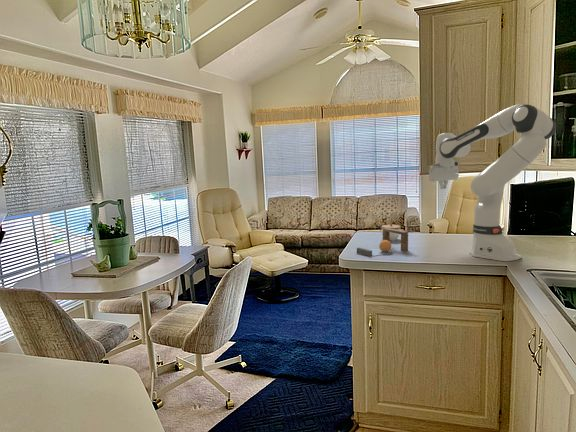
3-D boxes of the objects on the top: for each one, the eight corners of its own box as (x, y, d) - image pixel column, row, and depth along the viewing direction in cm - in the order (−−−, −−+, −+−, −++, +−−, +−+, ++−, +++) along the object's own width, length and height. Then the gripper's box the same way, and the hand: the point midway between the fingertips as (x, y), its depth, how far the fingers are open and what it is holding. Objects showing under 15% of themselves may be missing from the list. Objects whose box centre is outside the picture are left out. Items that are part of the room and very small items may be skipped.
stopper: (372, 255, 213) (372, 250, 212) (368, 256, 212) (368, 251, 211) (359, 252, 220) (359, 247, 220) (356, 252, 219) (356, 247, 219)
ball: (395, 246, 219) (390, 238, 216) (388, 255, 217) (383, 247, 215) (387, 244, 224) (382, 236, 221) (380, 253, 222) (374, 245, 220)
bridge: (386, 245, 234) (386, 227, 233) (407, 250, 221) (408, 231, 220) (382, 246, 232) (382, 228, 231) (403, 251, 220) (403, 232, 218)
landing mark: (392, 252, 218) (392, 252, 218) (374, 256, 212) (374, 255, 211) (375, 248, 228) (375, 248, 228) (357, 251, 222) (357, 251, 222)
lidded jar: (393, 242, 242) (393, 225, 241) (377, 239, 250) (377, 223, 249) (404, 239, 249) (404, 223, 248) (388, 236, 257) (389, 221, 256)
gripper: (435, 164, 227) (435, 190, 229) (461, 162, 238) (460, 188, 240) (426, 163, 232) (425, 189, 234) (451, 162, 243) (450, 187, 245)
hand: (443, 188), depth 237 cm, fingers closed
